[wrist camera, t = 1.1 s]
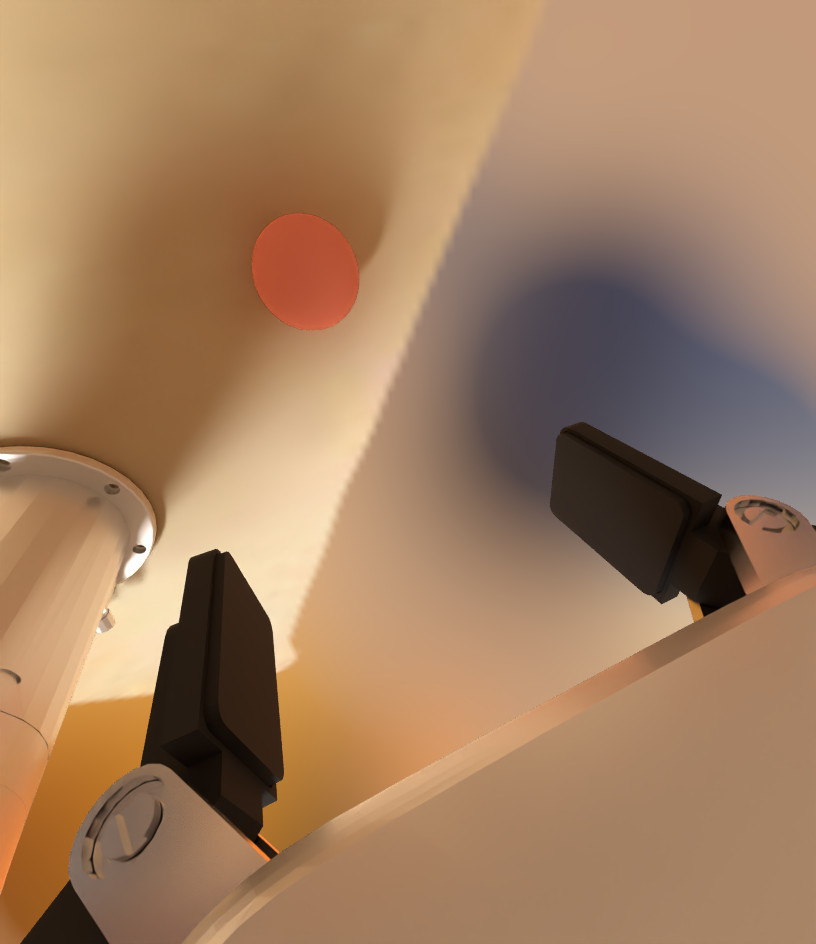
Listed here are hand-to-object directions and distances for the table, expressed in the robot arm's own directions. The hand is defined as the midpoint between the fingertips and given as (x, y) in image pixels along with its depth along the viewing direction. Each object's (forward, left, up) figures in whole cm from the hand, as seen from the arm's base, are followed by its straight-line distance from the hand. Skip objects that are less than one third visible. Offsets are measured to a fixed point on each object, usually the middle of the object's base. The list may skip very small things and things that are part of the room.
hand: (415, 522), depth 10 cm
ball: (+5, 0, -18) cm, 18 cm away
